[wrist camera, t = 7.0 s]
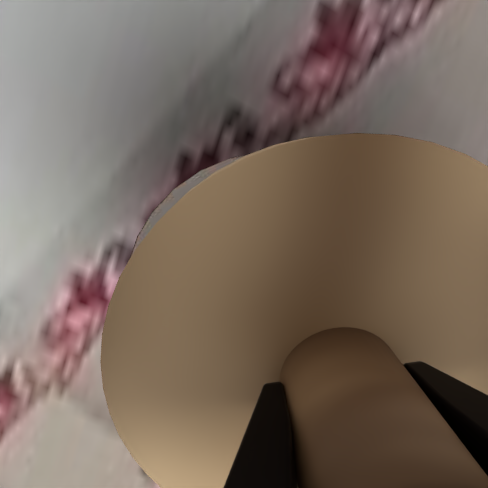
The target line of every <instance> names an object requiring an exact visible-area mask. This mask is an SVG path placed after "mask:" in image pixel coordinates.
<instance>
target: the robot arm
mask: <svg viewBox="0 0 488 488" xmlns="http://www.w3.org/2000/svg"><path fill="white" fill-rule="evenodd" d="M403 365H404V367H405V368H406V369H407V371H408V372H409V373H410V375H411V376H412V377H413V379H414V380H415V381H416V383H417V384H418V385H419V386H420V388H421V389H422V390H423V392H424V393H425V394H426V396H427V397H428V398H429V400H430V401H431V402H432V404H433V405H434V406H435V408H436V409H437V410H438V411H439V413H440V414H441V415H442V417H443V418H444V419H445V421H446V422H447V423H448V425H449V426H450V427H451V429H452V430H453V431H454V433H455V434H456V435H457V436H458V438H459V439H460V440H461V442H462V443H463V444H464V446H465V447H466V448H467V450H468V451H469V452H470V454H471V455H472V456H473V458H474V459H475V460H476V461H477V463H478V464H479V465H480V467H481V468H482V469H483V471H484V472H485V473H486V475H487V476H488V395H487V394H485V393H483V392H481V391H479V390H477V389H475V388H473V387H471V386H469V385H467V384H465V383H463V382H462V381H460V380H458V379H456V378H454V377H452V376H450V375H448V374H446V373H444V372H442V371H440V370H438V369H436V368H434V367H433V366H431V365H429V364H427V363H425V362H422V361H416V362H409V363H405V364H403ZM223 488H298V484H297V479H296V470H295V458H294V447H293V437H292V430H291V423H290V417H289V412H288V408H287V403H286V399H285V394H284V389H283V385H282V383H281V382H279V381H278V382H271V383H266V384H264V385H263V387H262V390H261V393H260V395H259V398H258V400H257V403H256V405H255V408H254V410H253V413H252V416H251V418H250V421H249V423H248V426H247V428H246V431H245V433H244V436H243V439H242V441H241V444H240V446H239V449H238V451H237V454H236V456H235V459H234V462H233V464H232V467H231V469H230V472H229V474H228V477H227V479H226V482H225V485H224V487H223Z"/></svg>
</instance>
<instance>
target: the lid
mask: <svg viewBox="0 0 488 488" xmlns="http://www.w3.org/2000/svg"><path fill="white" fill-rule="evenodd" d="M416 361H422V362H425V363H427V364H429V365H431V366H433V367H434V368H436V369H438V370H440V371H442V372H444V373H446V374H448V375H450V376H452V377H454V378H456V379H458V380H460V381H462V382H463V383H465V384H467V385H469V386H471V387H473V388H475V389H477V390H479V391H481V392H483V393H485V394H487V395H488V166H486V165H484V164H482V163H481V162H479V161H477V160H475V159H473V158H471V157H470V156H468V155H466V154H464V153H461V152H458V151H455V150H452V149H450V148H447V147H444V146H441V145H438V144H436V143H433V142H429V141H424V140H418V139H413V138H408V137H403V136H398V135H385V134H364V133H353V134H340V135H329V136H318V137H307V138H302V139H297V140H293V141H289V142H284V143H280V144H276V145H272V146H270V147H267V148H264V149H262V150H259V151H256V152H254V153H251V154H248V155H246V156H243V157H241V158H239V159H238V160H236V161H234V162H232V163H230V164H228V165H226V166H225V167H223V168H221V169H219V170H217V171H215V172H214V173H212V174H211V175H210V176H208V177H207V178H206V179H204V180H203V181H201V182H200V183H199V184H197V185H196V186H195V187H193V188H192V189H190V190H189V191H188V192H187V193H186V194H185V195H184V196H183V197H182V198H181V199H180V200H179V201H178V202H177V203H176V204H175V205H174V206H173V207H172V208H171V209H169V210H168V211H167V212H166V214H165V215H164V216H163V217H162V218H161V219H160V220H159V221H158V222H157V223H156V224H155V225H154V226H153V228H152V229H151V230H150V232H149V233H148V234H147V235H146V237H145V238H144V239H143V241H142V242H141V243H140V244H139V246H138V247H137V248H136V249H135V251H134V253H133V255H132V256H131V258H130V260H129V262H128V263H127V265H126V267H125V269H124V270H123V272H122V274H121V276H120V277H119V280H118V282H117V285H116V288H115V290H114V293H113V295H112V298H111V301H110V303H109V306H108V310H107V315H106V319H105V324H104V328H103V333H102V346H101V371H102V382H103V390H104V393H105V397H106V401H107V405H108V409H109V413H110V415H111V417H112V420H113V422H114V424H115V427H116V429H117V431H118V434H119V436H120V438H121V439H122V441H123V442H124V444H125V446H126V447H127V449H128V451H129V452H130V454H131V455H132V457H133V458H134V459H135V461H136V462H137V463H138V464H139V465H140V467H141V468H142V469H143V470H144V471H145V473H146V474H147V475H148V476H149V477H150V478H151V479H152V480H153V481H154V482H156V483H157V484H158V485H159V486H160V487H161V488H223V487H224V485H225V482H226V479H227V477H228V474H229V472H230V469H231V467H232V464H233V462H234V459H235V456H236V454H237V451H238V449H239V446H240V444H241V441H242V439H243V436H244V433H245V431H246V428H247V426H248V423H249V421H250V418H251V416H252V413H253V410H254V408H255V405H256V403H257V400H258V398H259V395H260V393H261V390H262V387H263V385H264V384H266V383H271V382H278V381H279V382H281V383H282V385H283V389H284V394H285V399H286V403H287V408H288V412H289V417H290V423H291V430H292V437H293V447H294V458H295V470H296V479H297V484H298V488H488V476H487V475H486V473H485V472H484V471H483V469H482V468H481V467H480V465H479V464H478V463H477V461H476V460H475V459H474V458H473V456H472V455H471V454H470V452H469V451H468V450H467V448H466V447H465V446H464V444H463V443H462V442H461V440H460V439H459V438H458V436H457V435H456V434H455V433H454V431H453V430H452V429H451V427H450V426H449V425H448V423H447V422H446V421H445V419H444V418H443V417H442V415H441V414H440V413H439V411H438V410H437V409H436V408H435V406H434V405H433V404H432V402H431V401H430V400H429V398H428V397H427V396H426V394H425V393H424V392H423V390H422V389H421V388H420V386H419V385H418V384H417V383H416V381H415V380H414V379H413V377H412V376H411V375H410V373H409V372H408V371H407V369H406V368H405V367H404V365H403V364H405V363H409V362H416Z"/></svg>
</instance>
